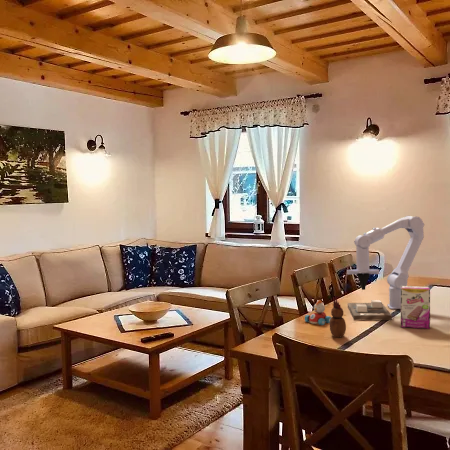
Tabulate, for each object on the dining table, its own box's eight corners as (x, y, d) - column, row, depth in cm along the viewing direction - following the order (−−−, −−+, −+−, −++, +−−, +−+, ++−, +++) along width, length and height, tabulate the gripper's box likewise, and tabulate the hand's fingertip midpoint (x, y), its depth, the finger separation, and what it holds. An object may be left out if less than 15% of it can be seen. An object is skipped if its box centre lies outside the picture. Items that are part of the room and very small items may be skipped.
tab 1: (365, 309, 219) (365, 304, 219) (366, 311, 215) (366, 306, 215) (356, 309, 220) (356, 304, 220) (357, 311, 216) (357, 306, 216)
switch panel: (381, 306, 233) (381, 302, 233) (392, 319, 209) (391, 314, 209) (347, 307, 235) (347, 302, 235) (353, 319, 212) (353, 314, 211)
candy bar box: (400, 327, 197) (400, 287, 196) (400, 324, 202) (400, 285, 201) (430, 329, 193) (430, 288, 192) (429, 326, 198) (429, 286, 197)
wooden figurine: (328, 334, 192) (327, 296, 191) (342, 333, 193) (341, 295, 192) (333, 339, 185) (332, 300, 184) (348, 338, 186) (347, 299, 185)
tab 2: (380, 305, 226) (380, 300, 226) (381, 307, 222) (381, 302, 222) (371, 305, 227) (371, 300, 227) (372, 307, 223) (372, 302, 223)
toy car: (303, 322, 211) (302, 300, 210) (316, 318, 217) (315, 296, 216) (320, 326, 204) (319, 303, 203) (333, 322, 210) (332, 299, 209)
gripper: (347, 262, 226) (348, 291, 227) (380, 261, 224) (380, 290, 225) (346, 260, 233) (346, 288, 234) (377, 259, 231) (378, 287, 232)
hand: (363, 289), depth 230 cm, fingers closed
